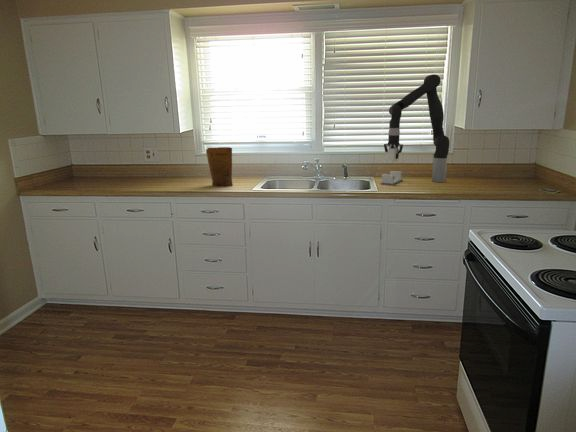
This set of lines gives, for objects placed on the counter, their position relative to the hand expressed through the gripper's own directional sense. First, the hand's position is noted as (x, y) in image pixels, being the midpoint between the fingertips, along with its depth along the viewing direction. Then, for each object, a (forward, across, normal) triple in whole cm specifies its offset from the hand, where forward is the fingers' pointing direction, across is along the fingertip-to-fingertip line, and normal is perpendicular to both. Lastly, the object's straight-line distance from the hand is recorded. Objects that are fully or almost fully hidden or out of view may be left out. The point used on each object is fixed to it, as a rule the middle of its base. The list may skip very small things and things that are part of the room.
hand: (392, 158), depth 306 cm
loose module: (+2, 0, 0) cm, 2 cm away
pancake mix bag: (+18, +102, +69) cm, 125 cm away
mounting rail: (+18, 0, 0) cm, 18 cm away
